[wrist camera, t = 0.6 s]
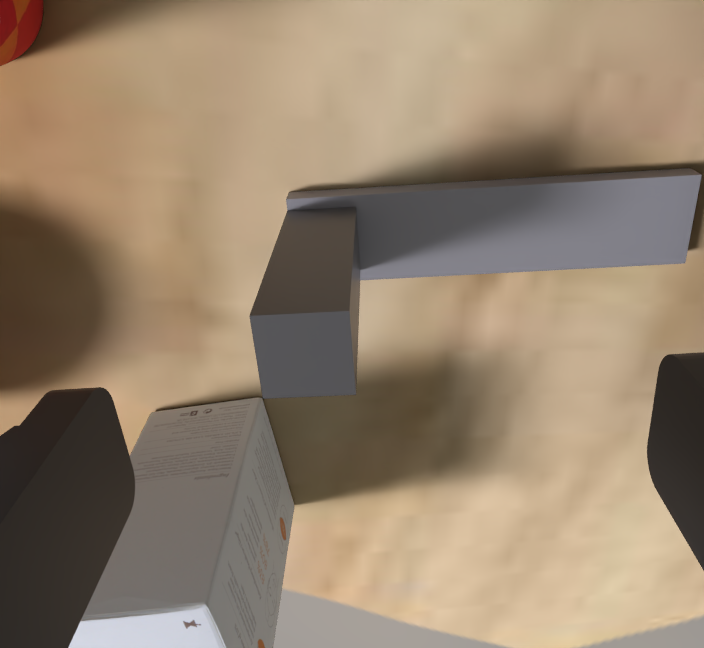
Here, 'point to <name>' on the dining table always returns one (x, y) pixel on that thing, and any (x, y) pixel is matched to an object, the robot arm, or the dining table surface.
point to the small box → (198, 536)
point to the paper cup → (18, 27)
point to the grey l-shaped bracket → (445, 252)
